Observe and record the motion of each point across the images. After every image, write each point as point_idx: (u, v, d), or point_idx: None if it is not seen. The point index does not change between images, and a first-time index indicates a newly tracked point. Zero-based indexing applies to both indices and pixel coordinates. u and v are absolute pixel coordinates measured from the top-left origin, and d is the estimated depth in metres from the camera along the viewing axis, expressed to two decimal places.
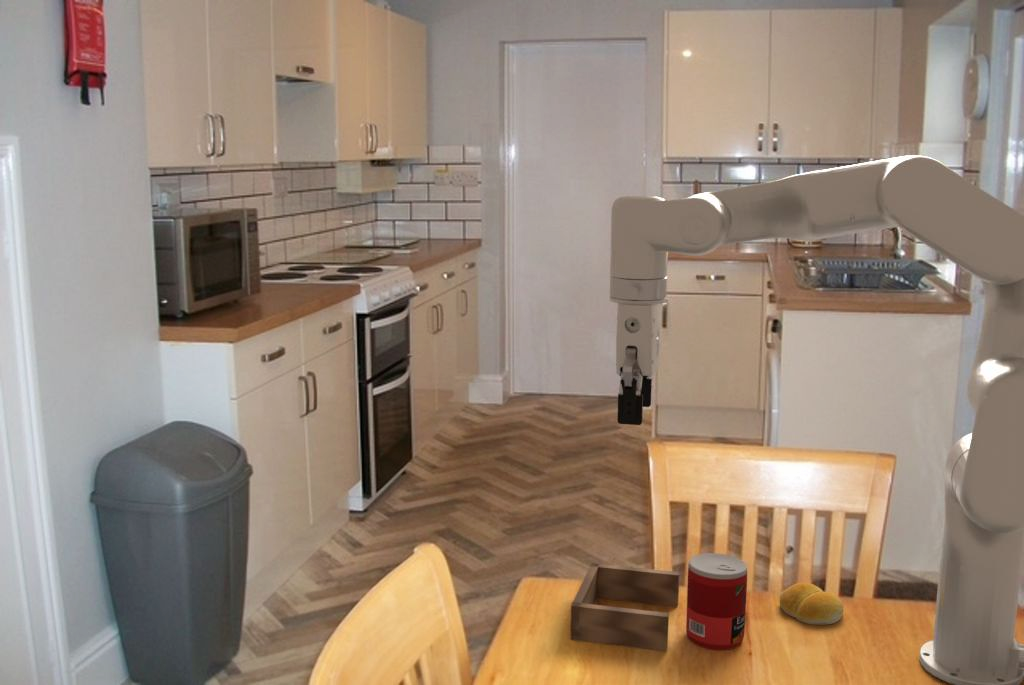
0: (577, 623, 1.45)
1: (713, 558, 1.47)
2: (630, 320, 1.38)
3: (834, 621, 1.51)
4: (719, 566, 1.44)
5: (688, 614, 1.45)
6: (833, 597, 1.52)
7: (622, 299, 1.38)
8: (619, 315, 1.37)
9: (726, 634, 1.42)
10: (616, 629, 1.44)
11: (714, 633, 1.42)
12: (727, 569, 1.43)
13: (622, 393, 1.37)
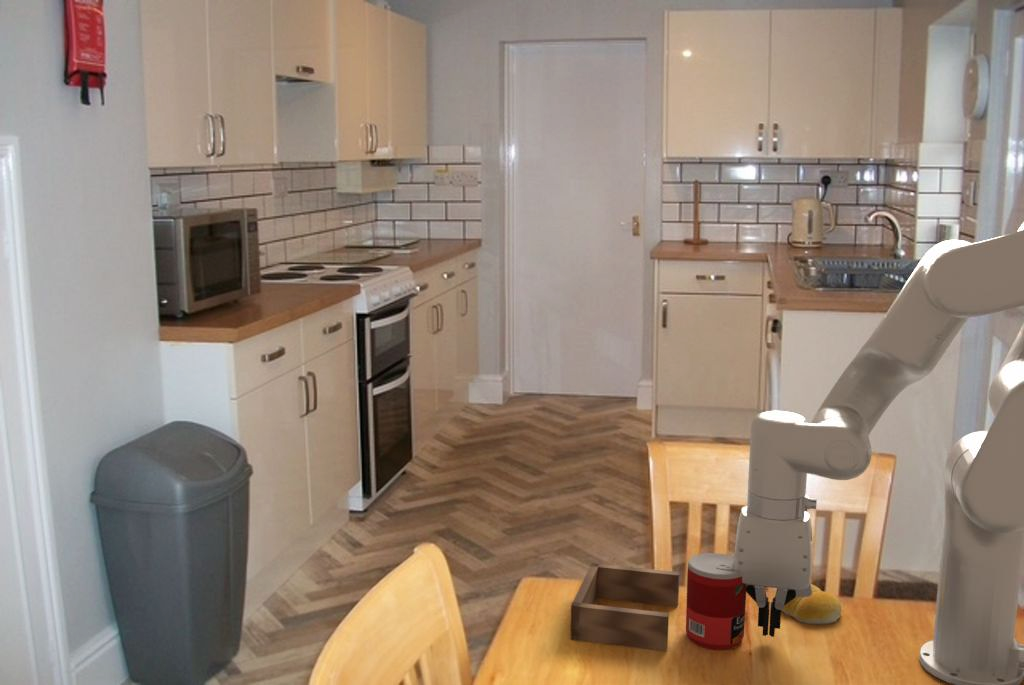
0: (577, 623, 1.45)
1: (713, 558, 1.47)
2: None
3: (832, 621, 1.51)
4: (719, 566, 1.44)
5: (688, 614, 1.45)
6: (831, 597, 1.53)
7: (801, 516, 1.39)
8: (807, 532, 1.39)
9: (725, 634, 1.42)
10: (616, 629, 1.44)
11: (714, 633, 1.42)
12: (726, 569, 1.43)
13: None
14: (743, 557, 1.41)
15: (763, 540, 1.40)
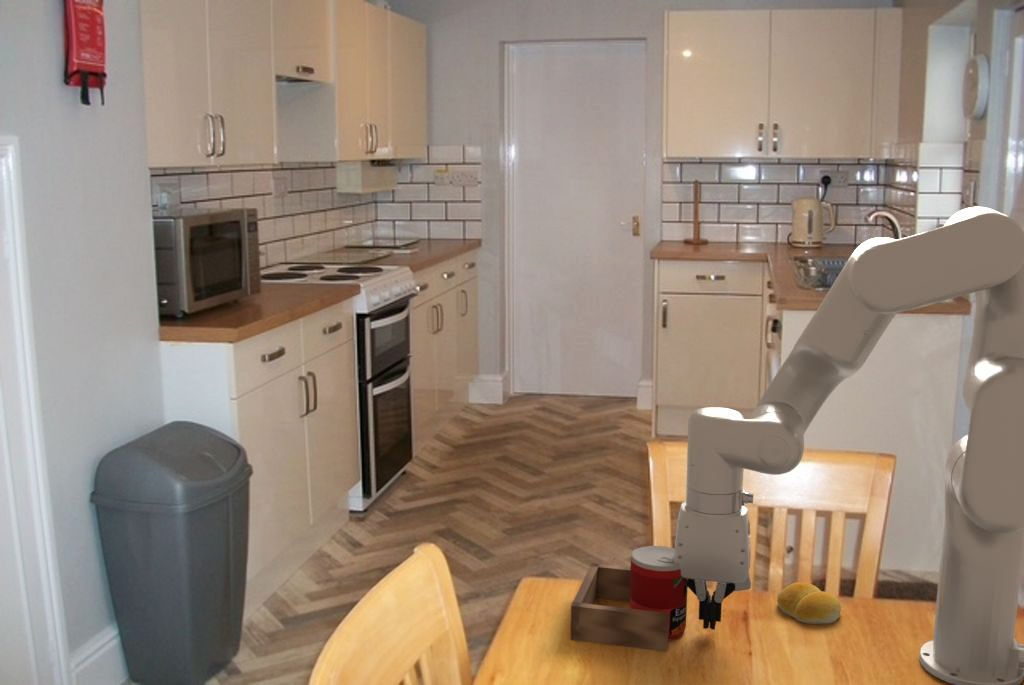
0: (577, 623, 1.45)
1: (657, 550, 1.50)
2: None
3: (832, 621, 1.51)
4: (660, 558, 1.47)
5: (630, 604, 1.48)
6: (831, 597, 1.53)
7: (738, 510, 1.41)
8: (744, 526, 1.41)
9: None
10: (616, 629, 1.44)
11: None
12: (667, 562, 1.46)
13: None
14: (683, 551, 1.43)
15: (701, 534, 1.42)
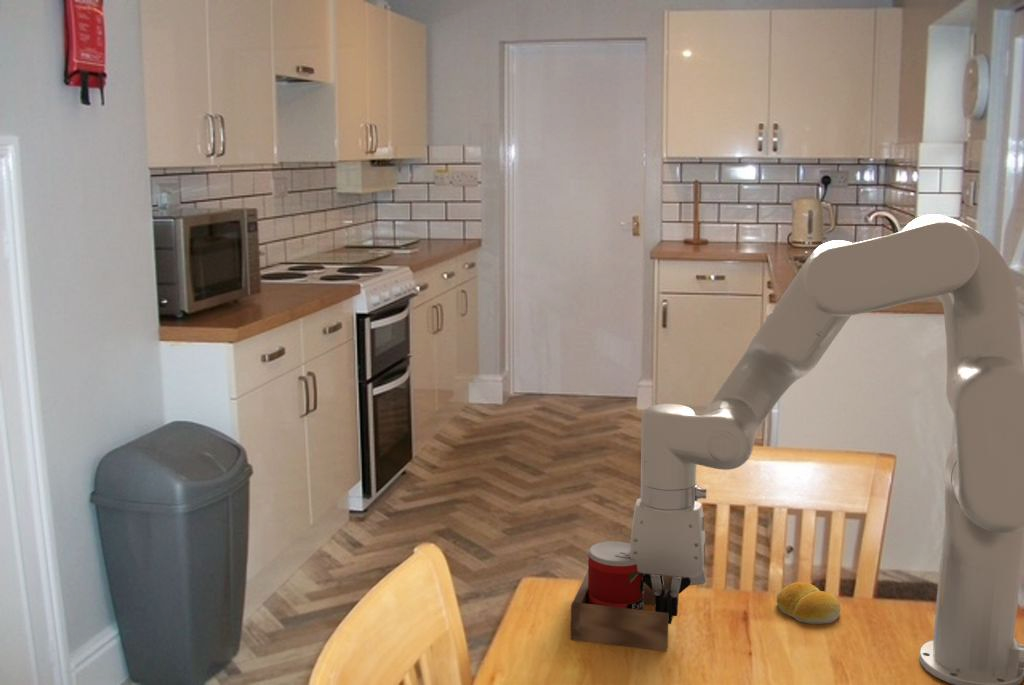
0: (577, 623, 1.45)
1: (615, 546, 1.51)
2: None
3: (831, 620, 1.51)
4: (618, 554, 1.48)
5: (588, 599, 1.50)
6: (830, 596, 1.53)
7: (691, 506, 1.43)
8: (697, 521, 1.43)
9: None
10: (616, 629, 1.44)
11: None
12: (623, 557, 1.47)
13: (678, 594, 1.46)
14: (638, 547, 1.45)
15: (656, 530, 1.44)
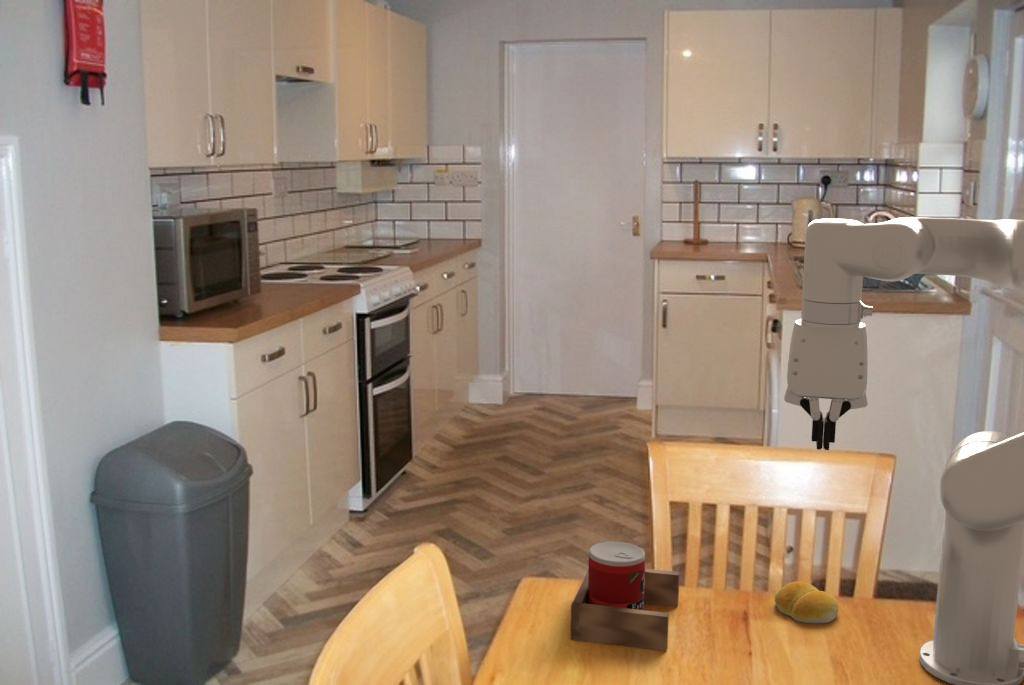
0: (577, 623, 1.45)
1: (616, 546, 1.51)
2: None
3: (829, 620, 1.51)
4: (618, 554, 1.48)
5: (588, 599, 1.50)
6: (828, 596, 1.53)
7: (857, 322, 1.37)
8: (863, 338, 1.37)
9: None
10: (616, 629, 1.44)
11: None
12: (624, 557, 1.47)
13: (838, 418, 1.41)
14: (798, 367, 1.40)
15: (818, 348, 1.38)
